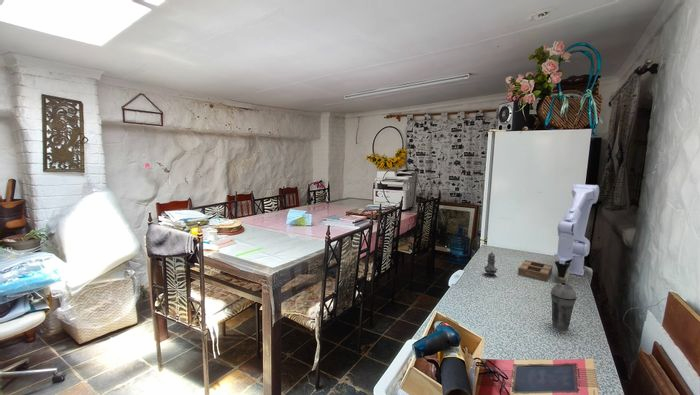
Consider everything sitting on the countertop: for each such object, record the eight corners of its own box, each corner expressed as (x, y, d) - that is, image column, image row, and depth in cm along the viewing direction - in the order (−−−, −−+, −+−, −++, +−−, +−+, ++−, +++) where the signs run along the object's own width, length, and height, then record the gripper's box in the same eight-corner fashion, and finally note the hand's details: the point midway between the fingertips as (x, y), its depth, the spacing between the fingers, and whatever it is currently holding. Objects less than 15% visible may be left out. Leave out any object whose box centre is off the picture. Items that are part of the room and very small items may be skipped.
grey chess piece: (498, 278, 144) (500, 254, 143) (485, 277, 145) (486, 253, 144) (495, 273, 150) (496, 250, 148) (482, 272, 151) (483, 249, 149)
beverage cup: (542, 321, 107) (547, 267, 104) (561, 320, 108) (567, 266, 105) (558, 333, 100) (564, 275, 97) (578, 332, 100) (585, 275, 98)
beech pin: (557, 277, 146) (559, 261, 144) (567, 279, 143) (569, 263, 142) (556, 279, 143) (557, 263, 141) (566, 282, 140) (568, 265, 139)
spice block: (525, 266, 159) (525, 260, 159) (552, 272, 152) (552, 265, 151) (517, 274, 148) (518, 268, 148) (546, 281, 140) (547, 274, 140)
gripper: (557, 241, 148) (554, 268, 150) (552, 248, 138) (549, 277, 140) (575, 244, 144) (572, 271, 146) (571, 251, 133) (568, 281, 135)
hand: (562, 274), depth 142 cm, fingers open, 7 cm apart
